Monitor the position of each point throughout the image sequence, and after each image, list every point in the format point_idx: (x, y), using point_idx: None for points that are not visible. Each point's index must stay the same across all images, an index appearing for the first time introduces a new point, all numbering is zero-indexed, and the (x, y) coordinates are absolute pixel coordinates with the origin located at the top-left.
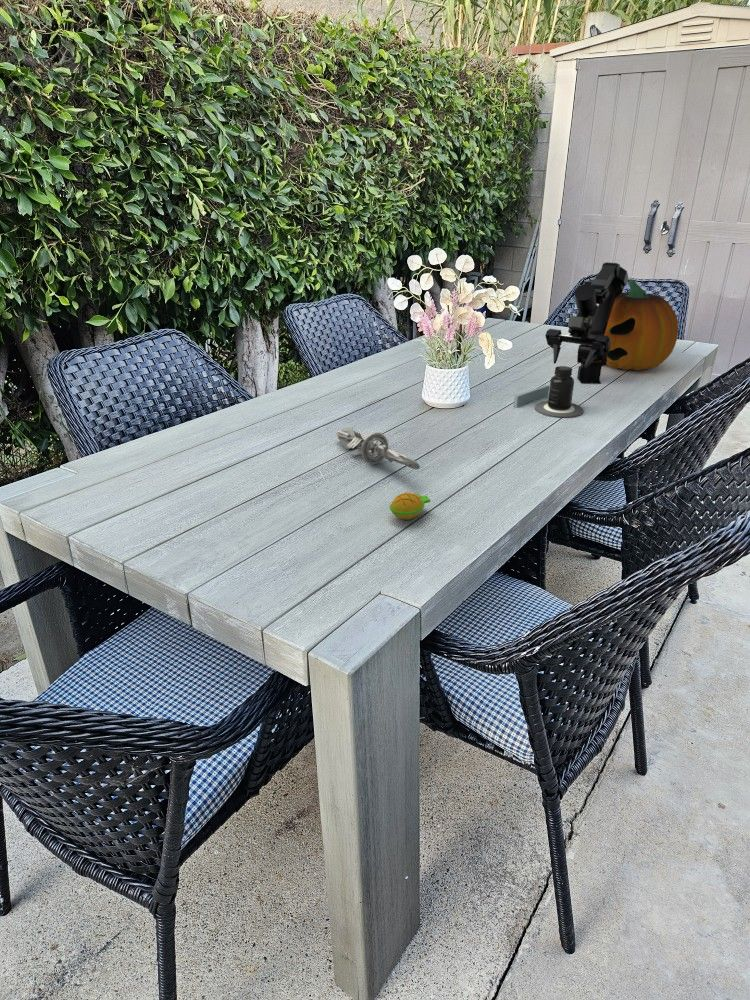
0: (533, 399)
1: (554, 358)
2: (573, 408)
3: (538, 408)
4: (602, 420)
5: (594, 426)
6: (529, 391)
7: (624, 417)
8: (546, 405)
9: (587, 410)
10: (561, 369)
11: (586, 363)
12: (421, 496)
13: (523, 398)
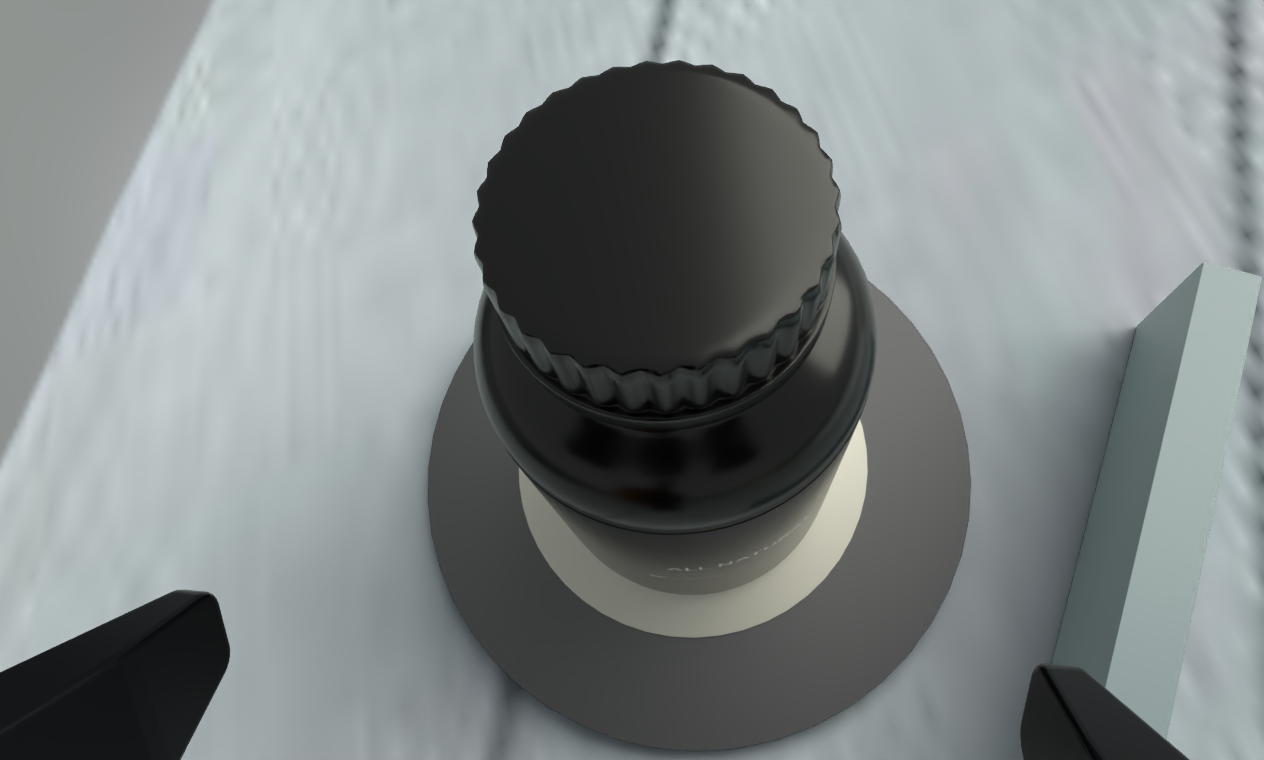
0: (1072, 619)
1: (1124, 727)
2: (534, 505)
3: (890, 336)
4: (245, 362)
5: (313, 189)
6: (1172, 535)
7: (33, 548)
8: (841, 465)
9: (395, 598)
10: (677, 104)
11: (121, 628)
12: None
13: (1149, 395)
